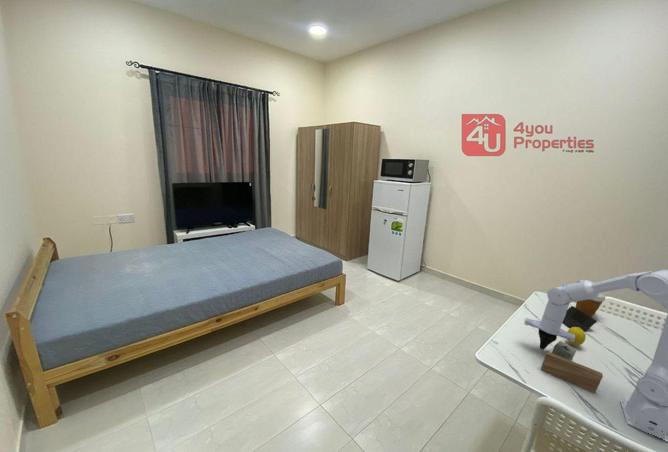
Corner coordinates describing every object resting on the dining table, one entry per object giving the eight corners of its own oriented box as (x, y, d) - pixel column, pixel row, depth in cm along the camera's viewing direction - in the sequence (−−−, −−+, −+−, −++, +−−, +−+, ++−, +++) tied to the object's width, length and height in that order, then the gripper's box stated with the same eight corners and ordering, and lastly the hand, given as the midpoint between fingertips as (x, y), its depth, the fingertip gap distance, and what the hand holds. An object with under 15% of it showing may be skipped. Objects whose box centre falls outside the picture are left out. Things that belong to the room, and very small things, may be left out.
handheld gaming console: (550, 314, 125) (567, 299, 123) (554, 319, 128) (571, 305, 127) (576, 334, 115) (596, 318, 113) (580, 339, 119) (599, 323, 117)
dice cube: (550, 356, 101) (554, 345, 100) (555, 351, 104) (560, 340, 102) (566, 365, 97) (571, 354, 96) (571, 360, 100) (576, 349, 99)
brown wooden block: (594, 393, 87) (602, 376, 85) (540, 370, 94) (547, 353, 92) (594, 390, 88) (602, 373, 86) (540, 367, 96) (547, 351, 93)
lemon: (584, 351, 105) (592, 333, 103) (568, 348, 106) (575, 330, 104) (575, 341, 110) (582, 324, 108) (560, 338, 111) (566, 321, 109)
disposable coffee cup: (587, 322, 123) (596, 299, 120) (565, 309, 132) (573, 287, 128) (602, 319, 126) (611, 297, 122) (579, 307, 135) (588, 286, 131)
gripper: (578, 320, 98) (565, 351, 102) (529, 304, 106) (519, 333, 110) (580, 330, 93) (566, 362, 97) (528, 312, 101) (518, 343, 105)
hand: (541, 347), depth 103 cm, fingers closed
